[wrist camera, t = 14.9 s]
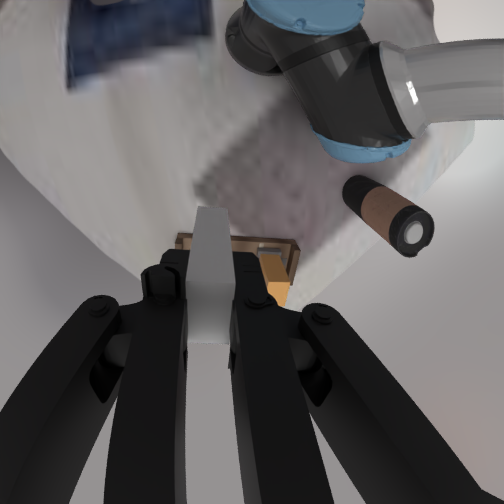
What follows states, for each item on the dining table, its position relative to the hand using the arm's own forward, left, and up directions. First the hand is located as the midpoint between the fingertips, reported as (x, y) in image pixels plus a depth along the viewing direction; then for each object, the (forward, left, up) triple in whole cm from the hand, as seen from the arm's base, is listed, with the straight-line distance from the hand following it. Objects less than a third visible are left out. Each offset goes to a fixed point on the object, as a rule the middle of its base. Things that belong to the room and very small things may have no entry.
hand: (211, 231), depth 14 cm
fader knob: (+20, -12, -32) cm, 40 cm away
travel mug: (+27, +10, -35) cm, 45 cm away
